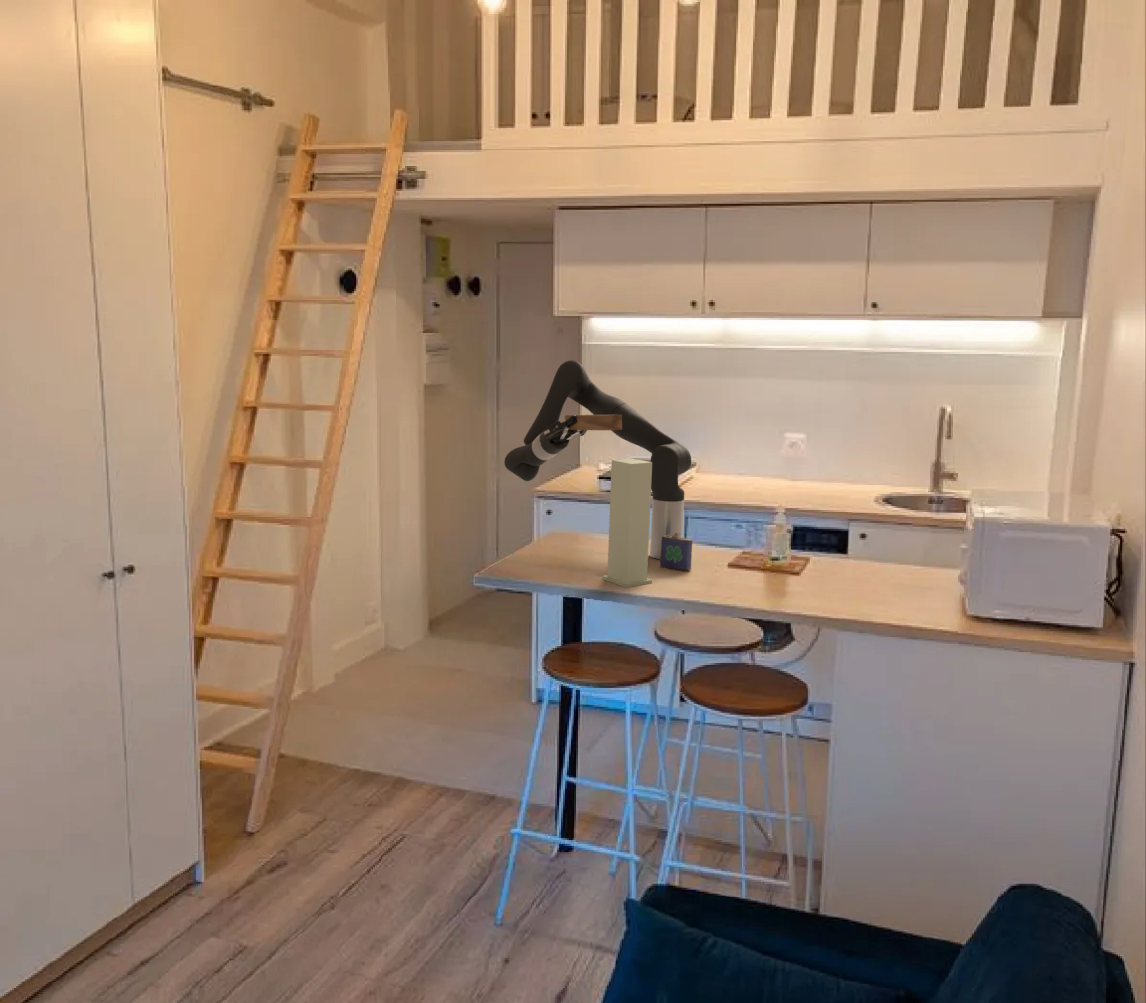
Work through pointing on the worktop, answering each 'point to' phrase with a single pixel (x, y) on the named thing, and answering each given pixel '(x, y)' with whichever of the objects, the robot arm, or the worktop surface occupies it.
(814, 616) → the worktop surface
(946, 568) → the worktop surface
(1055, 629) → the worktop surface
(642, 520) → the stand
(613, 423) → the rail
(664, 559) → the flask
